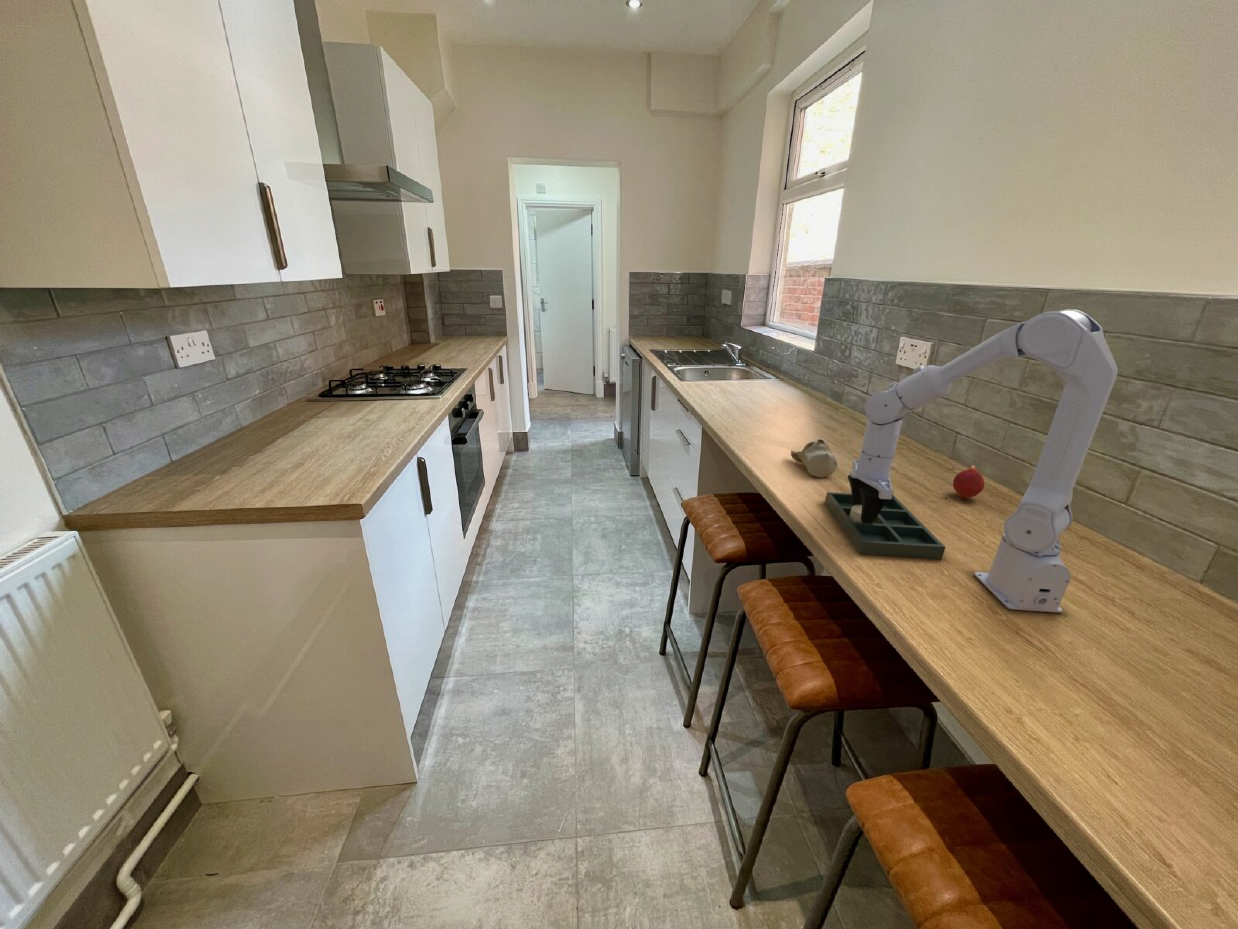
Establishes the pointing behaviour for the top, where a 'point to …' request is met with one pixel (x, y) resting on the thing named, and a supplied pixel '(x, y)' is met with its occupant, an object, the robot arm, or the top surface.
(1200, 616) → the top surface
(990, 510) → the top surface
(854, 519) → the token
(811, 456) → the ceramic sculpture
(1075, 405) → the robot arm
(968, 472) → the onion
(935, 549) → the grid
